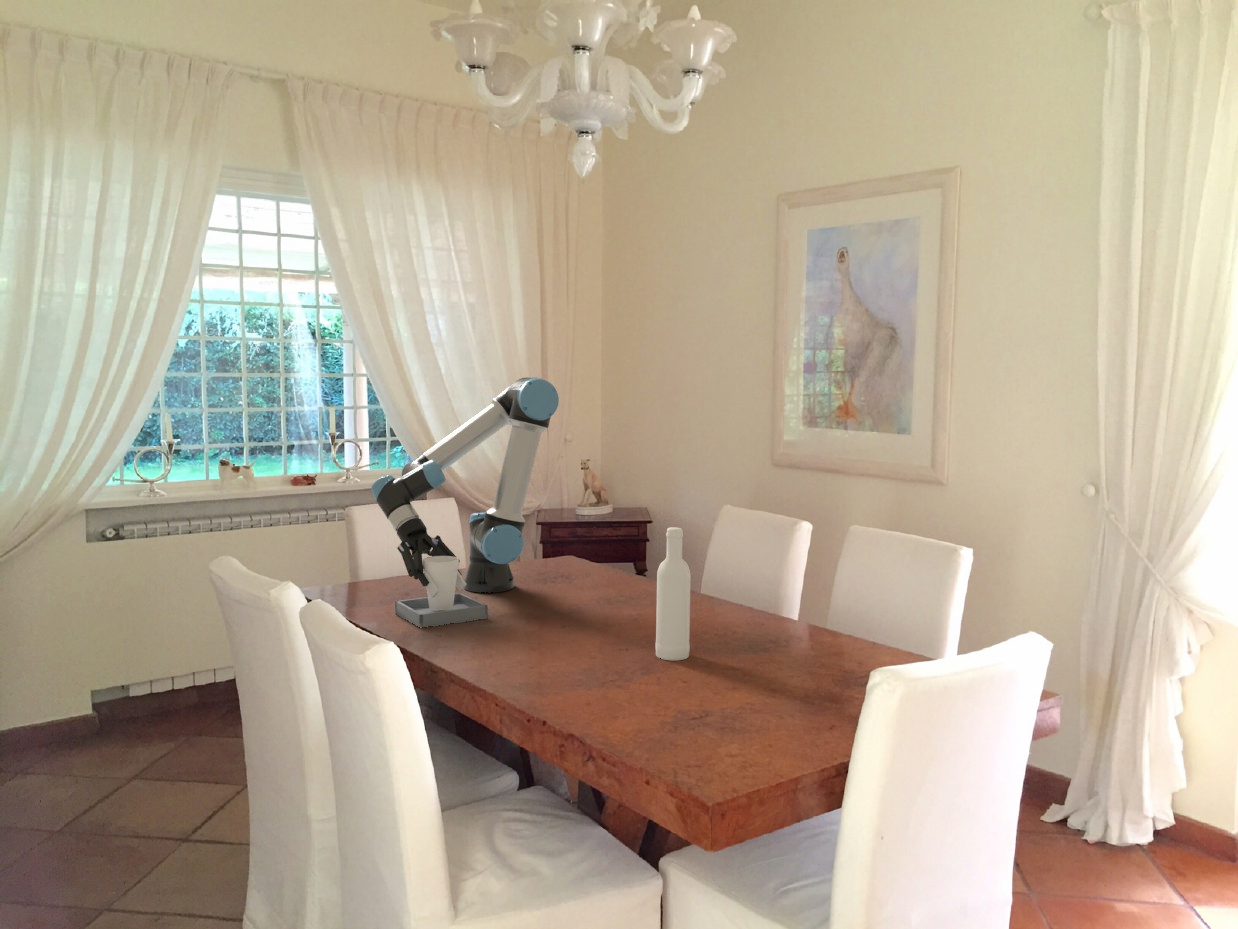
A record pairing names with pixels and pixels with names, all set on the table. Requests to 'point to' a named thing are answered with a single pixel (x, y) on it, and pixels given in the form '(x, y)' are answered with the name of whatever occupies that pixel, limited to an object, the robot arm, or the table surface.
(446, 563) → the foam cup
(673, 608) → the bottle
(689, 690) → the table surface
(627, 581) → the table surface
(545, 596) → the table surface
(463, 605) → the tray
